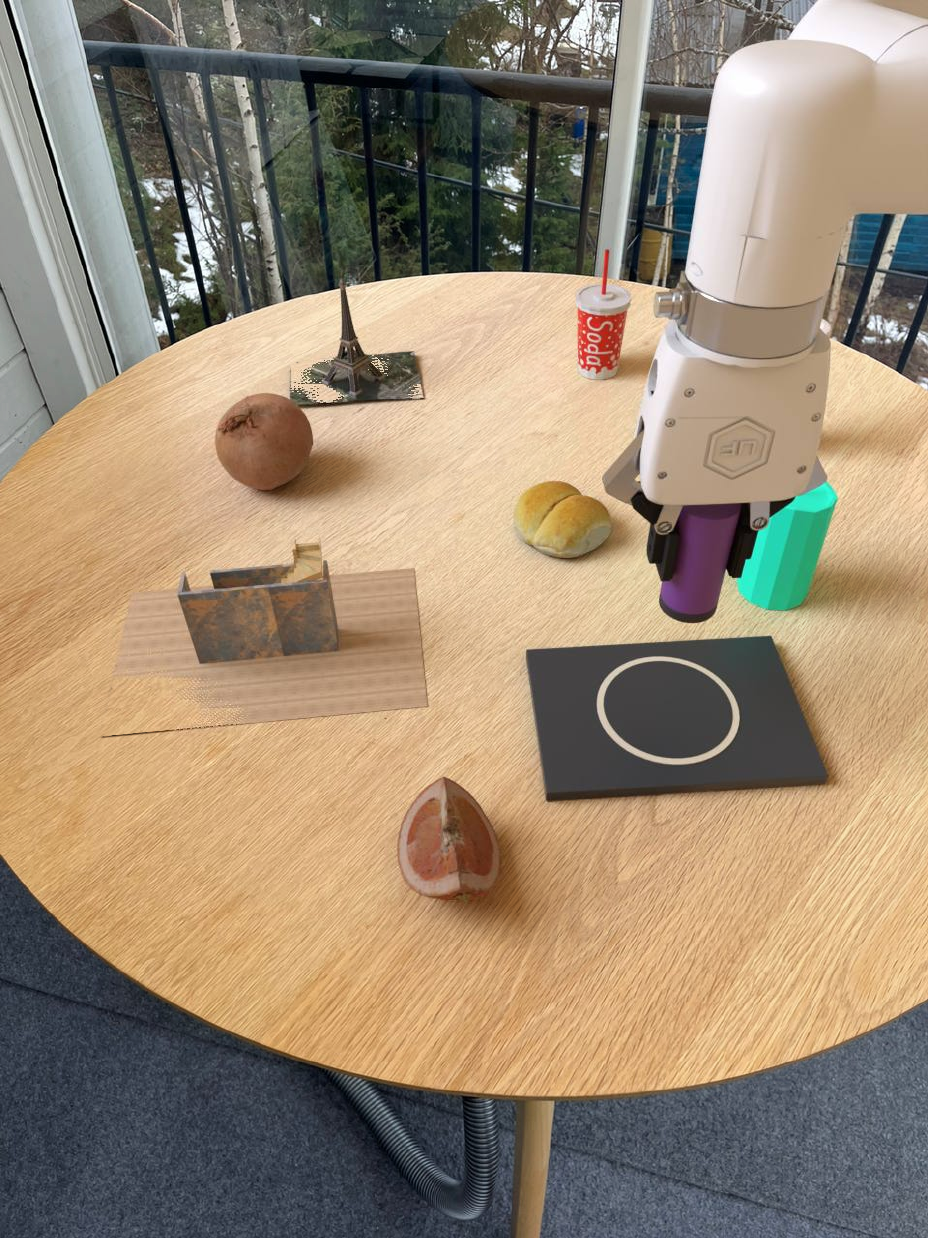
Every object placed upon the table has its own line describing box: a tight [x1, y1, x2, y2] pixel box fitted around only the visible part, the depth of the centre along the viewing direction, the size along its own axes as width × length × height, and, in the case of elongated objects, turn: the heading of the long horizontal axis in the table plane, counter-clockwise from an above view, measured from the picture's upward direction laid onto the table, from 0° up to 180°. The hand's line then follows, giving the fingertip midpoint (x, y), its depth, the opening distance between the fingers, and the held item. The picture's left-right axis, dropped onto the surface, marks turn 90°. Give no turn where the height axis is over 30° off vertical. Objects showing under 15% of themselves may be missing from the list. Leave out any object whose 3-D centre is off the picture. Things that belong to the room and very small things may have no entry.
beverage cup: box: [574, 248, 633, 381], centre depth 104 cm, size 6×6×14 cm
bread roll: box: [513, 480, 611, 559], centre depth 87 cm, size 8×9×4 cm
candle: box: [736, 481, 839, 611], centre depth 77 cm, size 6×6×12 cm
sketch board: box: [525, 635, 830, 802], centre depth 71 cm, size 20×14×1 cm
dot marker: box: [658, 503, 741, 624], centre depth 63 cm, size 4×4×9 cm
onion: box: [214, 392, 314, 491], centre depth 92 cm, size 10×9×10 cm
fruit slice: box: [396, 776, 502, 903], centre depth 61 cm, size 8×7×5 cm
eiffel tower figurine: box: [289, 273, 423, 405], centre depth 104 cm, size 15×10×13 cm
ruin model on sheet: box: [112, 536, 428, 731], centre depth 75 cm, size 25×16×10 cm, turn 96°
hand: (696, 564), depth 63 cm, fingers closed on dot marker, 4 cm apart
